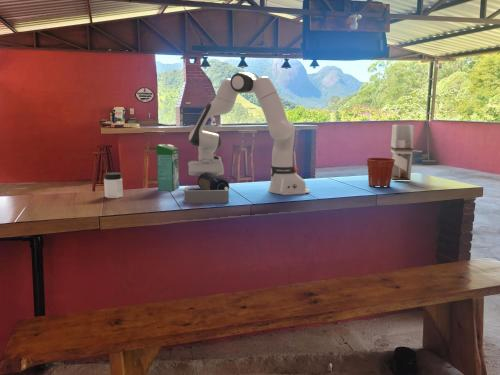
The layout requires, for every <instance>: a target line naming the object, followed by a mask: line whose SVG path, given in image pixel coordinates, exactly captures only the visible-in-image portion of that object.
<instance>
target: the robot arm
mask: <svg viewBox="0 0 500 375" xmlns="http://www.w3.org/2000/svg"><path fill="white" fill-rule="evenodd" d="M242 93H243V94H250V93H253V94H254V95H255V96H256V99H257V102H258V103H259V105H260V108H261V110H262V112H263V114H264V118H265V121H266V124H267V128H268V130H269V132H268V133H269V135H270V137H271V138H272V139H273V148H272V151H271V166H270V183H269V184H270V185H269V189H268V192H269V193H271V194H279V195H282V196H283V195H284V196H287V195H289V196H290V195H304V194H306V193H308V194H310V193H311V191H310V189H309V188H307V185H306V184H307V183H306V182H305V179H304V178H302V177H301V176H300V175H299V174H298V173H297V172H298V170H299V168H298V167H295V166H293V156H294V155H293V153H294V152H293V151H294V144H295V138H296V137H295V136H296V135H295V134H296V126H295V123H293V121H291V120H290V119H288V118H287V114H286V112H285V108H284V104H283V102H282V100H281V97H280V95H279V93H278V91H277V89H276V86H275V85H274V83H273V82H272V80H271V79H270V77H269V76H266V75H265V76H264V75H263V76H260V77H259V76H258V75H257V74H256V73H254V72H248V71H239V72H236V73H235V74H233V75H232V76H231V77H230V78H225V79H223V80H222V82H221V83H220V85H219V87H218V90H217V92H216V94H215V98H214V99H213V100H212V101H211V102H209V103H207V104H206V105H205V106H204V107H203V110H202V112H201V114H200V115H199V116H198V119H197V121H196V123H195V125H194V127H193V128H192V129H191V131H190V133H189V136H188V142H189V143H190V144H191V146H192V147H197V148H198V149H197V150H198V156H197V157H198V159H197V160H190V161H188V162H187V166H188V174H189V176H200V175H201V174H202V173H206V172H208V173H211V174H214V175H217V176H221V175H222V176H223V175H224V174H225V169H224V167H225V166H224V164H223V162H222V157H220V156H217V155H214V153H216V152H217V151H218V150H220V148H221V146H222V138H221V135H220V134H218V133H215V132H213V131H212V132H211V131H207V130H204V127H205V125H206V124H207V122H208V120H209V119H210V118H211V117H213V116H220V115H221V116H222V115H226V114H229V113H230V112H231V111H232V110H233V108H234V106H235V103H236V101H237V100H236V99H237V97H238V95H239V94H242Z"/></svg>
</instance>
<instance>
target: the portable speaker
mask: <svg viewBox="0 0 500 375" xmlns="http://www.w3.org/2000/svg"><path fill="white" fill-rule="evenodd" d="M197 185H198V187H199V188H200V189H201V190H225V188H224V187H228V190H230V184H229V182H228V180H226V178H224V177H222V176H221V175H214V174H211V173H208V172H206V173H202V174H201V175H198V178H197Z"/></svg>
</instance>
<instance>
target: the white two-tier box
mask: <svg viewBox="0 0 500 375" xmlns="http://www.w3.org/2000/svg"><path fill="white" fill-rule="evenodd" d="M391 126H392V130H391V142H390V152H391V153H392V156H391V159H395V161H394V166H393V169H392V176H391V179H392V180H410V181H411V178H412V177H411V176H412V165H413V164H412V163H413V151H414V140H415V138H414V137H415V125H414V124H413V125H412V124H392V125H391Z"/></svg>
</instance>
